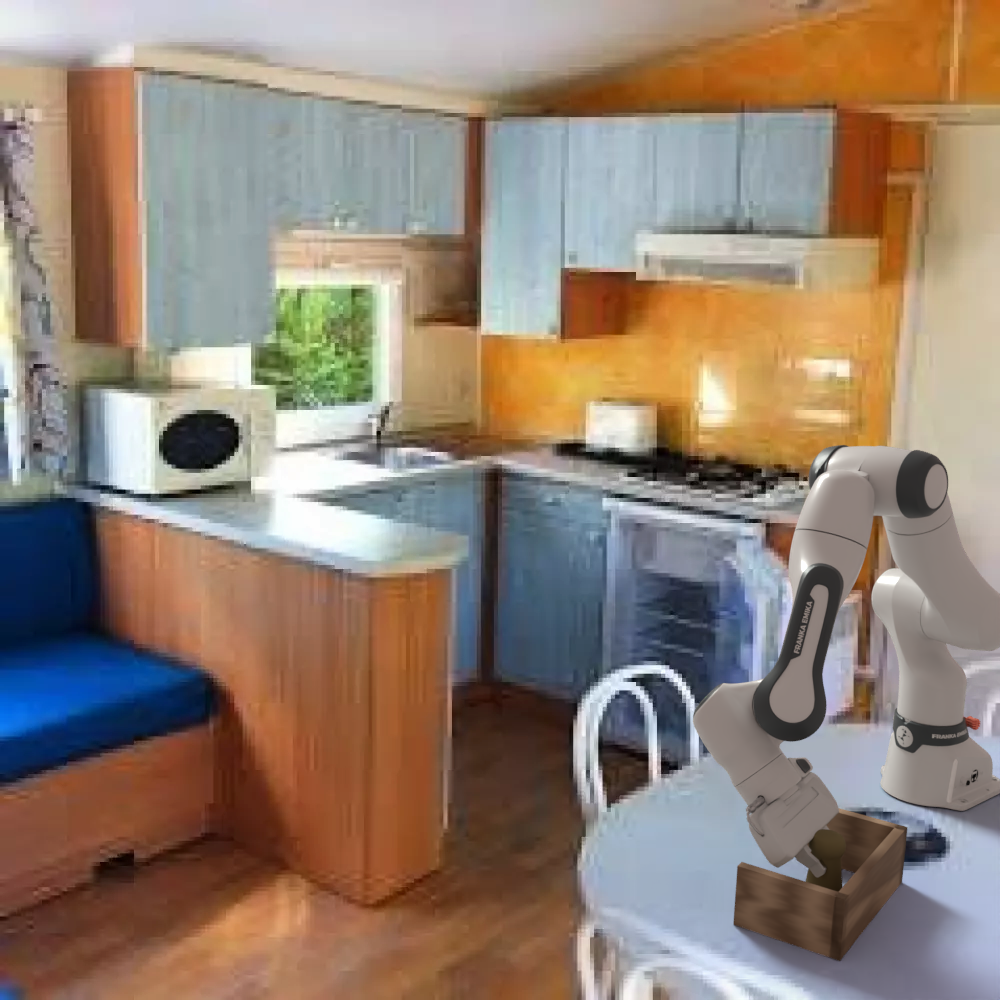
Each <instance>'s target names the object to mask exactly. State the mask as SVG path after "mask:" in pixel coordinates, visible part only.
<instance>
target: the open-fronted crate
mask: <svg viewBox="0 0 1000 1000" xmlns="http://www.w3.org/2000/svg"><path fill="white" fill-rule="evenodd" d="M838 808H839V813H838V814H837V815H836V816H835V817H834V818H833V819H832V820H831V821H830V822H829V823H828V824H827V825H826V826H827V827H828V828H829V830H832V831H835V832H837V833H839V834H841V835H842V836H843V838H844V840H845V843H846V849H845V852H844V855H843V856H842V857H841V869H842V870H844V871H848V872H851V873H853V874H852V876H851V877H850V878H849V879H848V880H847V882H846V883H845V884H844V885H842V888H841V890H840V891H839V892H837V891H834V890H831V889H827V888H824V887H821V886H818V885H815V884H811V883H808V882H805V881H806V880H805V881H804V880H801V879H799V878H795V877H792V876H789V875H785V874H782V873H779V872H777V871H773V870H769V869H766V868H764V867H761V866H756V865H753V864H750V863H747V862H744V861H741V862H740V863H739V864H737V867H736V868H737V869H736V881H735V883H736V884H735V898H734V908H733V925H734V926H736V927H739V928H742V929H745V930H748V931H751V932H754V933H757V934H759V935H762V936H764V937H765V936H766V937H769V938H771V939H774V940H777V941H780V942H783V943H786V944H789V945H792V946H795V947H797V948H799V949H800V948H801V949H803V950H806V951H809V952H812V953H815V954H818V955H821V956H824V957H827V958H830V959H832V960H835V961H838V962H841V961H842V959H843V958H844V957H845V956H846V954H847V953H848V952H849V951H850V949H851V948H852V947H851V946H853V945H854V944H855V943H856V942H857V940H858V939H859V938H860V936H861V935H862V934H863V933H864V932H865V930H866V929H867V927H868V926H869V925H870V924H871V923H872V921H873V920H874V919H875V917H876V916H878V914H879V912H880V911H881V910H882V908H883V907H884V906H885V905H886V903H887V902H888V901H889V900H890V899H891V897H892V896H893V895H894V893H895V892H896V891H897V889H898V888H899V887H900V886H901V884H902V883H903V876H904V867H905V866H904V865H905V856H906V855H905V854H906V847H907V846H906V845H907V835H908V826H906V825H901V824H897V823H893V822H890V821H886V820H884V819H879V818H875V817H872V816H869V815H865V814H861V813H858V812H853V811H850V810H846V809H843V808H840V807H838ZM807 845H808V846H809V843H808V844H807ZM810 853H811V852H810ZM811 854H812V853H811Z"/></svg>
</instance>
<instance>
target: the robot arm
mask: <svg viewBox="0 0 1000 1000" xmlns="http://www.w3.org/2000/svg"><path fill="white" fill-rule="evenodd" d="M808 471H809V472H808V487H809V492H808V494H807V496H806V498H805V500H804V503H803V506H802V508H801V511H800V513H799V515H798V516H799V517H798V518H797V523H796V525H795V529H794V532H793V536H792V540H791V545H790V551H789V557H788V559H789V560H788V571H787V572H788V573H787V576H788V580H789V582H790V587H791V593H792V604H791V605H792V606H791V611H790V615H789V619H788V622H787V623H788V624H787V627H786V630H785V634H784V639H783V642H782V645H781V650H780V652H779V656H778V657H777V658H778V659H777V661H775V662H776V663H775V664H774V666H773V668H772V669H771V670H770V671H768V673H767V674H766V676H764V678H760V679H757V680H752V681H746V682H745V681H744V682H739V683H728V682H726V683H725V682H723V683H719V684H718V685H716V686H715V687H714V688H713V689H712V690H710V692H708V693H707V695H706V696H705V697H703V699H702V700H701V701H700V702H699V704H698V705H697V706H696V707H695V709H694V711H693V716H692V724H693V727H694V729H695V731H696V733H697V734H698V735H697V736H699V738H700V740H701V742H702V743H703V745H704V746H705V748H706V749H707V751H708V752H709V754H710V755H711V757H712V758H713V759H714V762H716V763H717V764H718V765H719V766H721V768H722V769H724V771H725V772H726V773H727V774H728V776H729V778H730V780H731V781H730V782H731V783H732V786H733V787H734V788H735V790H736V791H737V792H738V794H739V795H740V797H741V798H742V799H743V801H744V802H745V804H746V805H747V806H746V808H745V812H746V822H747V823H748V829H749V831H750V833H751V836H752V838H753V839H754V841H755V842H756V844H757V846H758V847H759V850H760V851H761V852H762V854H763V855H764V857H765V859H766V860H767V861H768V863H769V864H770V865H772V866H773V867H774V868H780V867H782V866H784V865H786V864H787V863H788V862H790V861H792V860H793V859H794V858H795V860H796V861H797V862H798V863H800V864H802V866H804V867H806V868H807V869H808V868H809V869H810V870H811V872H812V873H813V874H814V876H815V877H820V876H822V875H823V874H824V873H825V872H826V871H827V870H828V867H827V866H826V865H825V863H824V862H823V860H822V859H820V860H818V859H817V858H816V857H815V856H814V855H812V854H811V853H810V852H811V849H810V848H809V846H808V845H807V844H808V843H809V842H810V841H811V840H812V839H813V837H814V835H815V833H816V832H817V831H818V830H822V829H828V830H829V828H828V827H827V826H826V825H827V824H828V823H829V822H830V821H831V820H832V819H833V818H834V817H835V816H836V815H837V814H838V813H839V808H840V807H839V805H838V802H837V800H836V798H834V796H833V794H832V793H831V791H830V790H829V789H828V787H827V786H826V784H825V783H824V782H823V781H822V779H821V778H820V777H819V776H818V774H816V773H815V772H812V770H813V769H814V767H813V765H812V763H811V761H810V760H809V759H808V758H807V757H802V756H801V757H787V756H786V754H785V753H784V752H783V751H782V749H781V744H782V743H783V742H790V743H791V742H800V741H802V740H805V739H808V738H810V737H811V736H812V735H814V734H815V733H817V731H818V730H819V729H820V727H821V726H822V724H823V723H824V720H825V717H826V714H827V705H828V704H827V697H826V691H825V690H826V689H825V687H824V679H823V678H824V677H823V673H824V667H825V662H826V658H827V655H828V650H829V646H830V641H831V638H832V633H833V629H834V625H835V623H836V619H837V617H838V614H839V612H840V609H841V608H842V606H843V604H844V602H845V601H846V600H847V598H848V596H849V595H850V593H851V591H852V589H853V587H854V586H855V583H856V582H857V579H858V578H859V574H860V572H861V570H862V567H863V564H864V562H865V558H866V554H867V552H868V551H867V550H868V549H869V548H868V547H869V543H870V539H871V534H872V528H873V522H874V517H876V516H879V517H882V522H883V527H884V529H885V533H886V537H887V541H888V545H889V549H890V553H891V556H892V560H893V561H894V563H895V565H896V566H897V567H898V568H897V567H896V568H889V569H887V570H885V571H883V572H882V574H880V575H879V577H878V578H877V579H876V581H875V582H874V584H873V587H872V591H871V598H870V599H871V606H872V609H873V612H874V614H875V615H876V616H877V617H878V618H879V620H880V621H881V622H882V624H883V626H884V627H885V629H886V631H887V632H888V633H889V637H890V639H891V641H892V643H893V646H894V649H895V654H896V657H897V663H898V673H899V677H898V678H899V679H898V694H897V696H898V697H897V707H895V709H894V714H893V716H892V717H893V718H892V731H893V732H891V735H890V738H889V743H888V748H887V753H886V757H885V763H884V765H881V768H880V775H882V777H881V779H880V787H881V788H882V789H883V791H885V792H886V793H887V794H888V795H890V796H892V797H894V798H897V799H898V800H901V801H904V802H907V803H910V804H914V805H919V806H926V807H933V808H934V807H935V808H936V807H937V808H945V809H951V810H954V811H961V812H962V811H963V812H964V811H967V810H969V809H971V808H974V807H976V806H977V805H979V804H981V803H983V802H985V801H987V800H989V799H991V798H993V797H995V796H997V795H999V794H1000V778H999V777H997V775H996V776H995V775H994V774H993V771H994V770H993V769H994V768H993V758H992V756H991V754H990V753H989V752H988V751H987V750H986V749H985V748H983V747H982V746H981V745H980V744H979V743H977V742H976V741H975V740H974V739H973V738H972V737H970V734H969V731H968V730H969V729H968V728H970V729H972V730H973V731H977V730H978V729H979V728H980V727H981V721H980V718H979V719H978V718H976V717H975V718H974V716H972V715H969V716H967V717H966V716H964V715H965V714H964V713H965V703H966V696H967V695H966V694H967V686H968V680H967V675H966V673H965V671H964V669H963V667H962V666H961V665H960V664H959V663H958V662H957V661H956V660H955V658H954V657H953V656H952V654H951V652H950V651H949V648H948V646H947V645H950V646H953V647H956V648H959V649H963V650H970V651H977V652H978V651H980V652H994V651H996V650H998V649H999V648H1000V593H999V592H998V591H997V590H996V589H995V588H993V587H992V586H991V585H990V584H989V582H988V581H987V580H986V579H985V578H984V577H983V576H982V575H981V573H980V572H979V571H978V569H977V568H976V566H975V565H974V564H973V562H972V560H971V559H970V558H969V556H968V554H967V553H966V551H965V548H964V547H963V544H962V542H961V539H960V535H959V531H958V526H957V524H956V520H955V517H954V512H953V508H952V504H951V501H950V497H949V494H948V491H949V474H948V470H947V468H946V466H945V465H944V463H943V462H942V461H941V460H940V458H939V457H938V456H937V455H934V454H932V453H930V452H927V451H924V450H920V449H914V450H910V449H906V448H900V447H896V446H895V447H894V446H886V445H875V446H872V445H857V446H856V445H855V446H853V445H851V446H849V445H846V444H840V445H831V446H827V447H825V448H823V449H822V450H821V451H820V452H818V454H817V455H816V456H815V458H814V459H813V460H812V462H811V464H810V468H809V470H808Z"/></svg>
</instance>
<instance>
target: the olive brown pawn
mask: <svg viewBox="0 0 1000 1000" xmlns="http://www.w3.org/2000/svg"><path fill="white" fill-rule="evenodd" d="M809 848H810V849H811V853H812V855H814V856H815V857H816V858H817V859H818V860H820V859H822V860H823V862H824V863H825V865H826V866H827V867H828V870H827V871H826V872H825V873H824V874H823V875H822V876H820V877H815V876H814V874H813V873H812V872H811V870H810V869H809V868H807V869H808V870H807V873H806V878H805V882H808V883H811V884H815V885H818V886H821V887H824V888H827V889H831V890H834V891H837V892H839V891H840V890H841V888H842V887H843V873H842V872H843V871H842V870H843V869H841V857H842V856H843V855H844V852H845V849H846V843H845V840H844V838H843V836H842V835H841V834H839V833H837V832H835V831H832V830H828V829H822V830H818V831H817V832H816V833H815V835H814V837H813V839H812V840H811V841H810V842H809Z"/></svg>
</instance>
